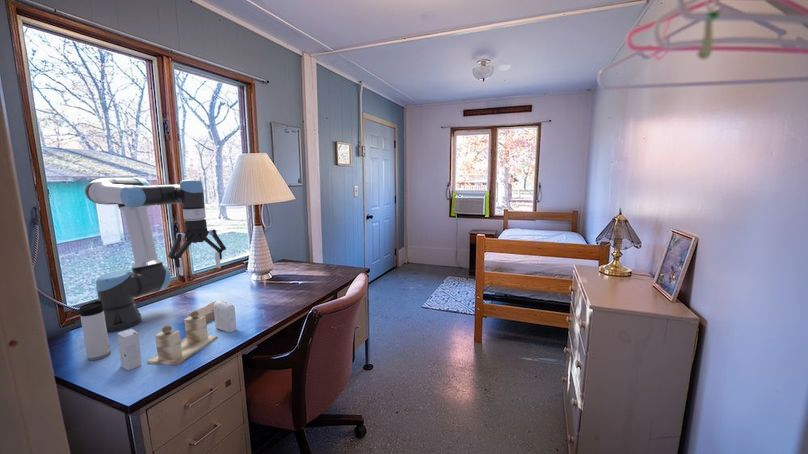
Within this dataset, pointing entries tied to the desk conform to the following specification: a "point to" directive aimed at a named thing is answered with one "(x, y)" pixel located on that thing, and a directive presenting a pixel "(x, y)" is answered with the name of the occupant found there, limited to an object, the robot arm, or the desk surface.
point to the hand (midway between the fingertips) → (200, 271)
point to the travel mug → (94, 330)
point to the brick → (207, 312)
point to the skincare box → (129, 349)
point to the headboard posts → (181, 341)
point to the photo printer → (224, 316)
